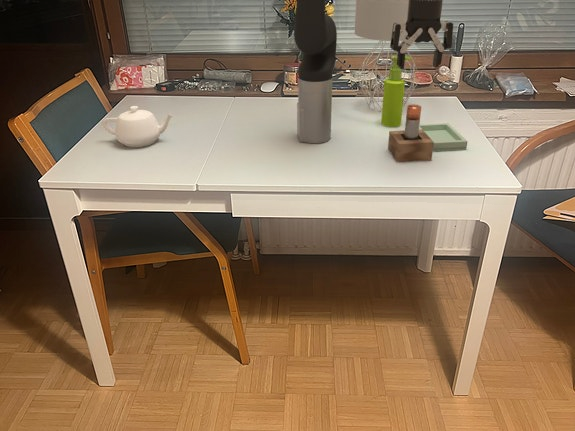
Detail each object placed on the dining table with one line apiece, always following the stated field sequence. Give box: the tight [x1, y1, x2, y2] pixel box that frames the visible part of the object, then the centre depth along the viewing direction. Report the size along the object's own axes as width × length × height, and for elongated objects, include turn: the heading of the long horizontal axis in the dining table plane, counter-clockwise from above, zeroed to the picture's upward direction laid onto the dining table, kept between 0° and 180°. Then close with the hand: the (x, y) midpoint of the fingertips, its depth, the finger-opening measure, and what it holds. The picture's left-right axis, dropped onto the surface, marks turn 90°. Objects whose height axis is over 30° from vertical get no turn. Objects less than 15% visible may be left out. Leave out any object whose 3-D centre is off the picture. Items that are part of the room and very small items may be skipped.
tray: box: [419, 122, 468, 153], centre depth 148 cm, size 10×14×2 cm
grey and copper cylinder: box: [404, 104, 422, 140], centre depth 137 cm, size 4×4×13 cm
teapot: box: [101, 105, 174, 148], centre depth 149 cm, size 20×12×10 cm, turn 90°
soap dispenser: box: [380, 55, 412, 128], centre depth 156 cm, size 6×7×20 cm
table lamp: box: [354, 0, 420, 112], centre depth 165 cm, size 22×22×40 cm
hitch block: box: [387, 129, 434, 163], centre depth 139 cm, size 9×9×5 cm
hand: (418, 67), depth 129 cm, fingers open, 8 cm apart
